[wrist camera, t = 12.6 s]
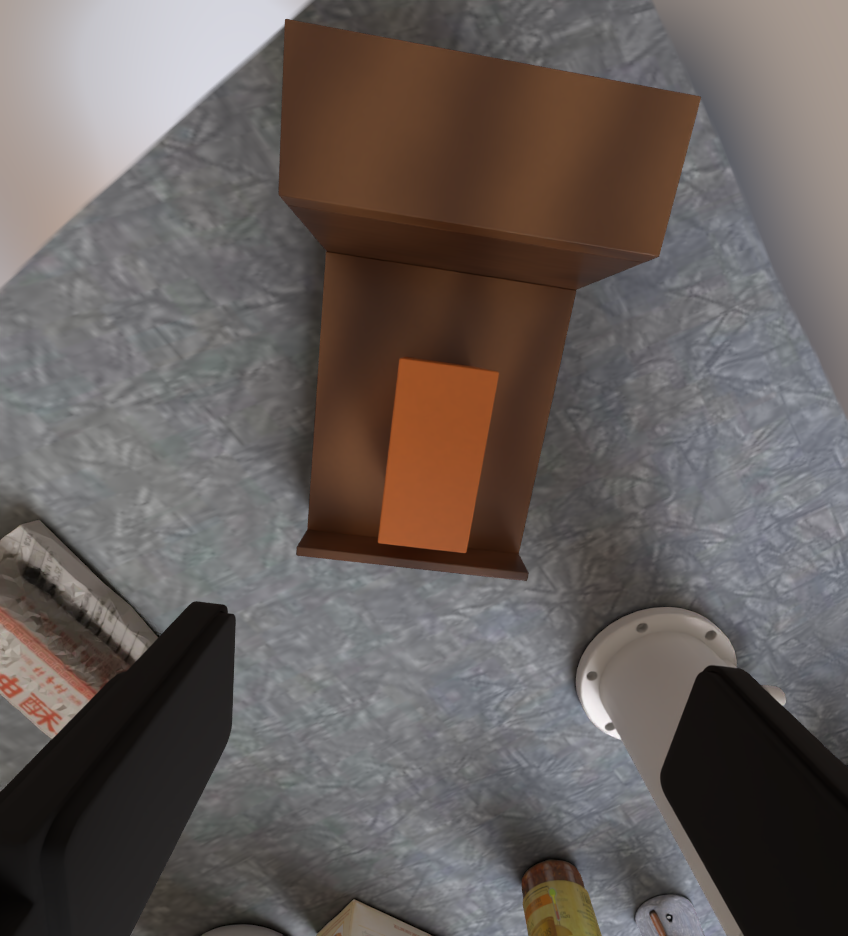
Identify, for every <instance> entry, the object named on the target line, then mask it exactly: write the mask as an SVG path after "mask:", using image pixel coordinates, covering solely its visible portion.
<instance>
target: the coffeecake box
mask: <svg viewBox="0 0 848 936" xmlns="http://www.w3.org/2000/svg"><path fill="white" fill-rule="evenodd" d="M316 936H432V935H430V934H428V933H426V932H424V931H421V930H419V929H417V928H415V927H413V926H411V925H408V924H406V923H404V922H402V921H400V920H397V919H395V918H393V917H391V916H389V915H387V914H385V913H383V912H381V911H378V910H376V909H374V908H372V907H370V906H367V905H365V904H363V903H361V902H359V901H357V900H355V899H353V900H352V901H351V902H350V903H349V904H348V905H347V906H346V907H345V908H344V909H343V910H342V911H341V912H340V913H339V914H338V915H337V916H336V917H335V918H334V919H332V920H331V921H330V922H329V923H328V924H327V925H325V926H324V928H323V929H322V930H321V931H320V932H319V933H317V934H316Z"/></svg>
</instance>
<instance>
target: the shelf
mask: <svg viewBox="0 0 848 936" xmlns="http://www.w3.org/2000/svg"><path fill="white" fill-rule="evenodd" d="M700 99H701V97H700V96H695V95H690V94H684V93H679V92H674V91H668V90H663V89H658V88H652V87H647V86H642V85H636V84H631V83H626V82H620V81H615V80H610V79H604V78H599V77H594V76H588V75H583V74H578V73H572V72H567V71H562V70H556V69H551V68H546V67H540V66H535V65H530V64H524V63H519V62H514V61H508V60H503V59H498V58H492V57H487V56H482V55H476V54H471V53H466V52H460V51H455V50H450V49H444V48H439V47H434V46H428V45H423V44H418V43H412V42H407V41H402V40H396V39H391V38H386V37H380V36H375V35H370V34H364V33H359V32H354V31H348V30H343V29H337V28H332V27H327V26H321V25H316V24H311V23H305V22H300V21H295V20H289V19H285V33H284V60H283V87H282V114H281V140H280V167H279V196H280V197H281V198H282V199H283V201H284V202H285V203H286V204H287V205H288V206H289V207H290V209H291V210H292V211H293V212H294V213H295V215H296V216H297V217H298V218H299V219H300V220H301V222H302V223H303V224H304V225H305V226H306V228H307V229H308V230H309V231H310V232H311V233H312V235H313V236H314V237H315V238H316V239H317V240H318V242H319V243H320V244H321V245H322V246H323V248H324V249H325V250H326V251H327V252H326V259H325V274H324V289H323V304H322V319H321V334H320V349H319V364H318V379H317V394H316V409H315V424H314V439H313V454H312V469H311V484H310V499H309V514H308V529H307V531H306V533H305V534H304V536H303V538H302V539H301V541H300V543H299V544H298V546H297V551H296V555H298V556H307V557H316V558H325V559H334V560H343V561H352V562H361V563H370V564H379V565H388V566H396V567H405V568H414V569H423V570H432V571H441V572H450V573H459V574H468V575H477V576H486V577H495V578H504V579H513V580H522V581H527V578H528V574H529V573H528V571H527V569H526V567H525V565H524V563H523V561H522V559H521V557H520V556H519V550H520V545H521V541H522V536H523V531H524V527H525V522H526V518H527V513H528V509H529V504H530V499H531V495H532V490H533V486H534V481H535V477H536V472H537V468H538V463H539V458H540V454H541V449H542V445H543V440H544V436H545V431H546V426H547V422H548V417H549V413H550V408H551V404H552V399H553V395H554V390H555V385H556V381H557V376H558V372H559V367H560V363H561V358H562V353H563V349H564V344H565V340H566V335H567V331H568V326H569V322H570V317H571V312H572V308H573V303H574V299H575V294H576V290H577V289H579V288H582V287H584V286H587V285H589V284H592V283H594V282H597V281H599V280H602V279H604V278H607V277H609V276H612V275H614V274H617V273H619V272H622V271H624V270H627V269H629V268H631V267H634V266H636V265H639V264H641V263H644V262H647V261H649V260H652V259H654V258H657V257H659V255H660V251H661V247H662V243H663V240H664V236H665V232H666V228H667V224H668V221H669V217H670V213H671V209H672V206H673V202H674V198H675V194H676V190H677V187H678V183H679V179H680V175H681V171H682V168H683V164H684V160H685V156H686V152H687V149H688V145H689V141H690V137H691V133H692V130H693V126H694V122H695V118H696V114H697V111H698V107H699V103H700ZM403 357H410V358H417V359H424V360H431V361H438V362H445V363H452V364H459V365H466V366H472V367H477V368H482V369H487V370H492V371H497V372H499V377H498V383H497V388H496V394H495V399H494V405H493V410H492V416H491V421H490V426H489V432H488V437H487V443H486V448H485V454H484V459H483V465H482V470H481V476H480V481H479V487H478V492H477V498H476V503H475V509H474V514H473V520H472V525H471V530H470V536H469V541H468V547H467V552H466V553H459V552H451V551H442V550H433V549H425V548H416V547H407V546H399V545H390V544H382V543H378V534H379V526H380V517H381V509H382V500H383V492H384V483H385V475H386V466H387V458H388V450H389V441H390V433H391V424H392V416H393V407H394V399H395V390H396V382H397V373H398V365H399V359H400V358H403Z"/></svg>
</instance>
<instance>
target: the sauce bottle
mask: <svg viewBox="0 0 848 936" xmlns="http://www.w3.org/2000/svg"><path fill="white" fill-rule="evenodd" d="M522 893H523V908H524V914H525V919H526V924H527V930H528V935H529V936H602V935H601V932H600V929H599V926H598V923H597V919H596V916H595V913H594V910H593V907H592V904H591V900H590V897H589V894H588V892H587V890H586V889H585V888H584V884H583V881H582V877H581V875H580V873H579V872H578V870H577V868H576V867H575V866H574V865H572V864H571V863H569V862H566V861H562V860H559V861H558V860H546V861H544V862H541V863H538V864H536V865H534V866H532V867H531V868H530V869H528V871H527V872H526V873H525V874H524V876H523V878H522Z"/></svg>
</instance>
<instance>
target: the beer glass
mask: <svg viewBox="0 0 848 936" xmlns="http://www.w3.org/2000/svg"><path fill="white" fill-rule="evenodd" d="M635 921H636V925H637V927H638V929H639V931H640V933H641V935H642V936H705V935H704V932H703V929H702V926H701V924H700V921H699V918H698V915H697V913H696V910H695V908H694V906H693V904H692V903H691V902H690V901H689V900H688V899H687V898H685V897H683V896H680V895H675V894H665V895H660V896H656V897H653V898H651V899H649V900H647V901H646V902H644V903H643V904H642V905H641V906H640V907H639V909H638V910H637V912H636V916H635Z"/></svg>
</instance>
